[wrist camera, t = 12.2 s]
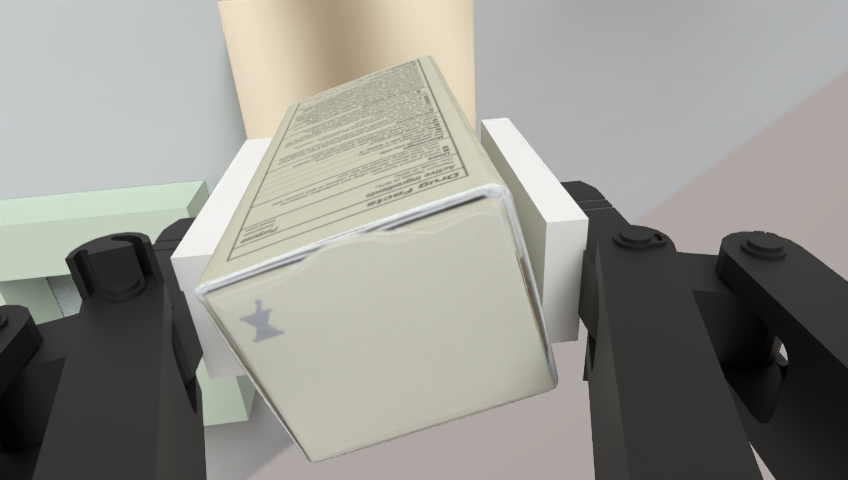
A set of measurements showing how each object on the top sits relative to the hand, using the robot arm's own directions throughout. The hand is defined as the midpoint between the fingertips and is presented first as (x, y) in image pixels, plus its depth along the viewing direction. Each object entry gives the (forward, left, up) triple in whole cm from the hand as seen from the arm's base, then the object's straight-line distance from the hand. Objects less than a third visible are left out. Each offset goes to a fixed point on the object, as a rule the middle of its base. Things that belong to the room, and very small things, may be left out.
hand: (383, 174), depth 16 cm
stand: (+1, 0, -9) cm, 9 cm away
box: (0, 0, -3) cm, 3 cm away
